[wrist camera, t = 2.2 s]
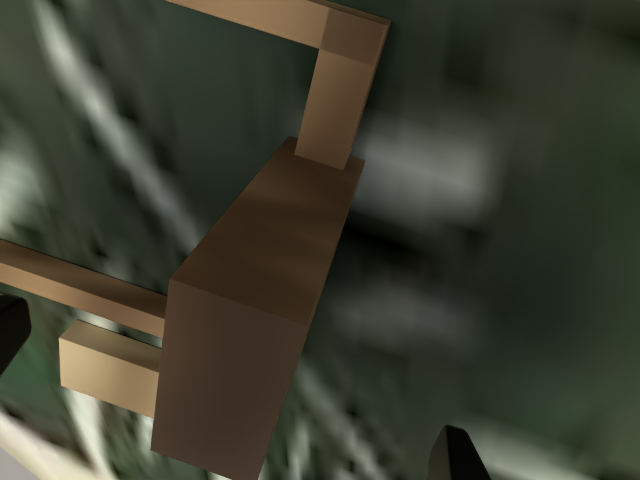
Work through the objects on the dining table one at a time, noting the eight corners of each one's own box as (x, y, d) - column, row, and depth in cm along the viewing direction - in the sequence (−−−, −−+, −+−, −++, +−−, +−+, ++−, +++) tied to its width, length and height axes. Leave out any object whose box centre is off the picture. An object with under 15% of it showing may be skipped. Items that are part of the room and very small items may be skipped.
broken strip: (250, 380, 21) (240, 401, 20) (239, 423, 23) (229, 445, 22) (-152, 240, 22) (-181, 253, 21) (-136, 291, 23) (-162, 306, 22)
